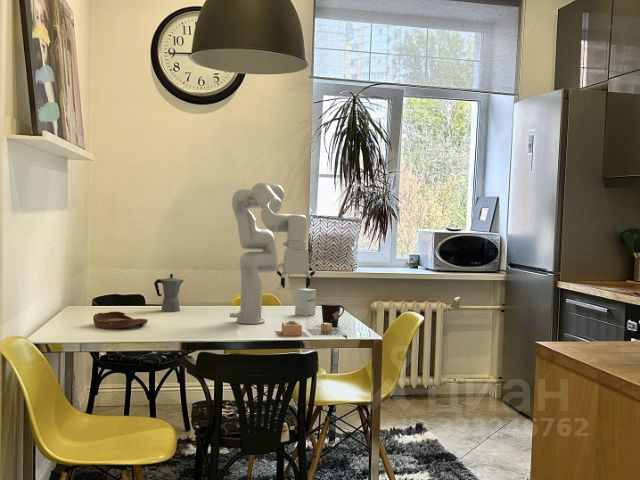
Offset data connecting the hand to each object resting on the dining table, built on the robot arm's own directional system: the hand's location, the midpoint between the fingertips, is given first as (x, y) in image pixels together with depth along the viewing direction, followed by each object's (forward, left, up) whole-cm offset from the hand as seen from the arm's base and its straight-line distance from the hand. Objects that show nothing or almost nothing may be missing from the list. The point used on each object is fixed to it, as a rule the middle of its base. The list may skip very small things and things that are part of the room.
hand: (295, 287), depth 269 cm
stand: (-1, -3, -20) cm, 20 cm away
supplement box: (+15, +58, -20) cm, 63 cm away
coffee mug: (+22, +24, -20) cm, 38 cm away
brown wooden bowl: (-69, +22, -20) cm, 75 cm away
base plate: (+14, +1, -20) cm, 24 cm away
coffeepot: (-51, +67, -20) cm, 86 cm away
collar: (-1, -3, -18) cm, 18 cm away
